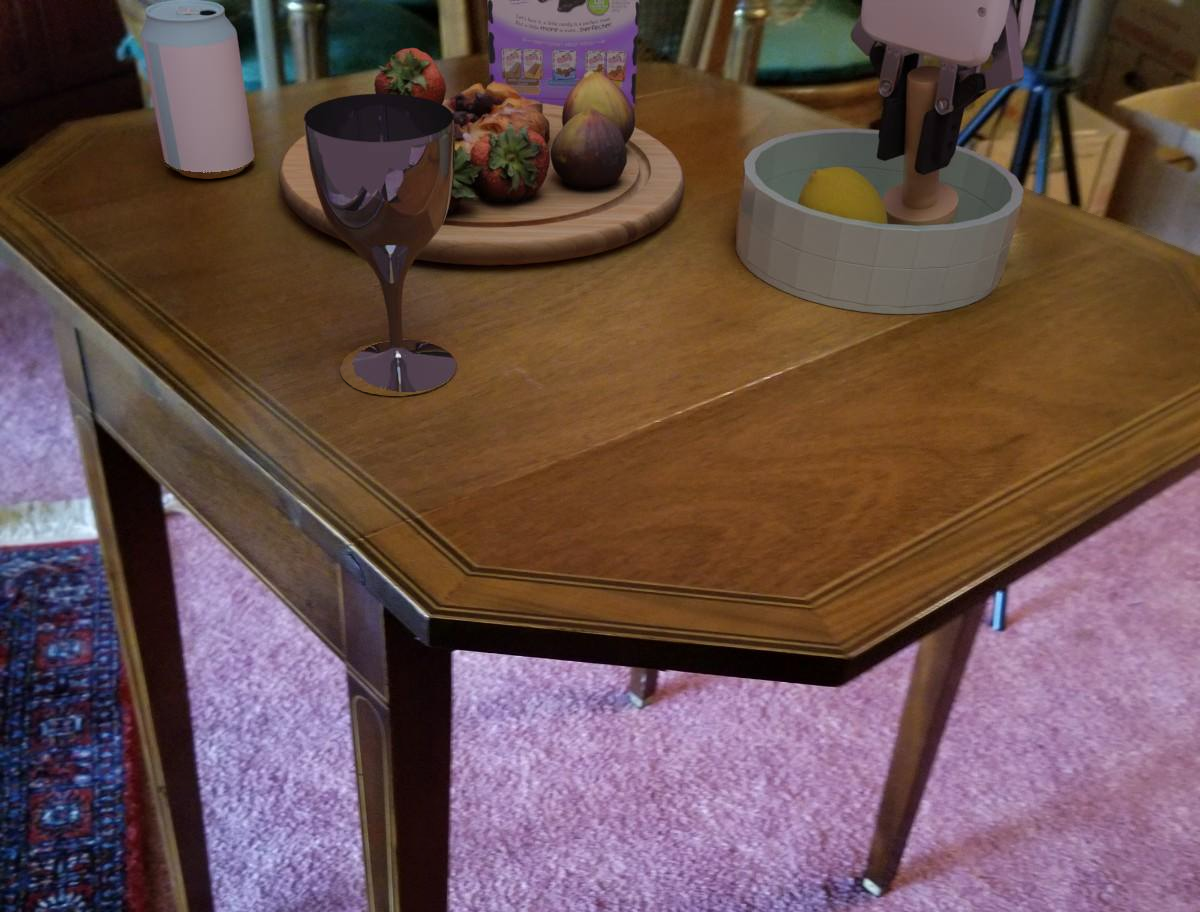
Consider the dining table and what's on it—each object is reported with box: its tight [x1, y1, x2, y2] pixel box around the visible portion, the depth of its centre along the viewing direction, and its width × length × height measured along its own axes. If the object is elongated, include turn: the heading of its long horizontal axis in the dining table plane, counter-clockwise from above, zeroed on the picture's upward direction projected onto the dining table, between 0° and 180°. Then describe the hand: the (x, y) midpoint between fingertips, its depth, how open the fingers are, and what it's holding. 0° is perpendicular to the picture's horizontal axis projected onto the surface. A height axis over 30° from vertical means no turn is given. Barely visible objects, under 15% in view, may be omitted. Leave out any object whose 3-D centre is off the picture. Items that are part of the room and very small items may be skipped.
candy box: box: [486, 0, 640, 109], centre depth 110 cm, size 14×6×16 cm, turn 91°
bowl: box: [735, 128, 1025, 315], centre depth 88 cm, size 20×20×6 cm
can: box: [139, 0, 255, 173], centre depth 95 cm, size 7×7×12 cm
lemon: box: [798, 167, 887, 224], centre depth 83 cm, size 6×6×8 cm
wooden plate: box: [278, 47, 686, 266], centre depth 94 cm, size 32×32×8 cm
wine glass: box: [303, 93, 458, 392], centre depth 69 cm, size 8×8×15 cm
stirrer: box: [882, 65, 959, 226], centre depth 81 cm, size 5×5×10 cm
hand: (912, 160), depth 81 cm, fingers closed on stirrer, 2 cm apart
